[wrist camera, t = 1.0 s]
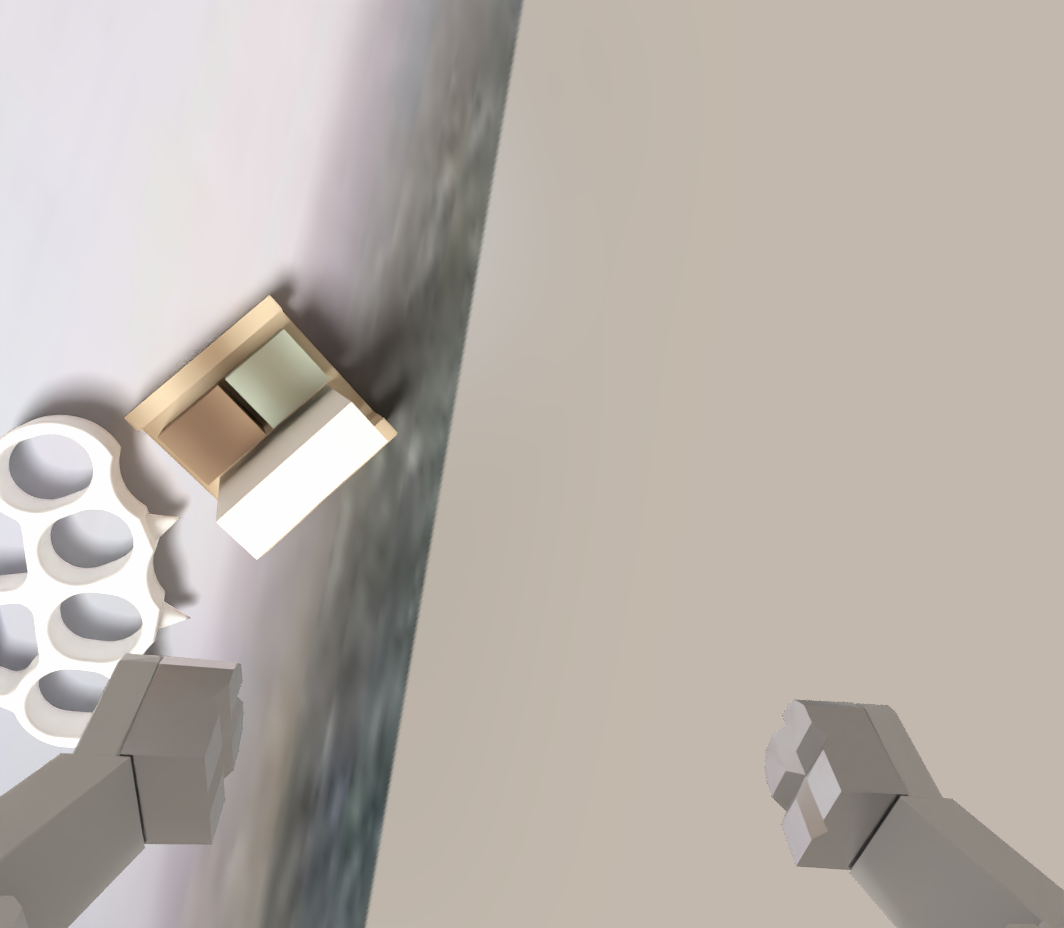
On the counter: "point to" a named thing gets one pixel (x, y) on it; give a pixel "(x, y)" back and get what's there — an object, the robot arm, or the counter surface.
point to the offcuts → (225, 424)
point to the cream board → (294, 469)
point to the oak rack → (215, 368)
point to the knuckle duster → (76, 577)
